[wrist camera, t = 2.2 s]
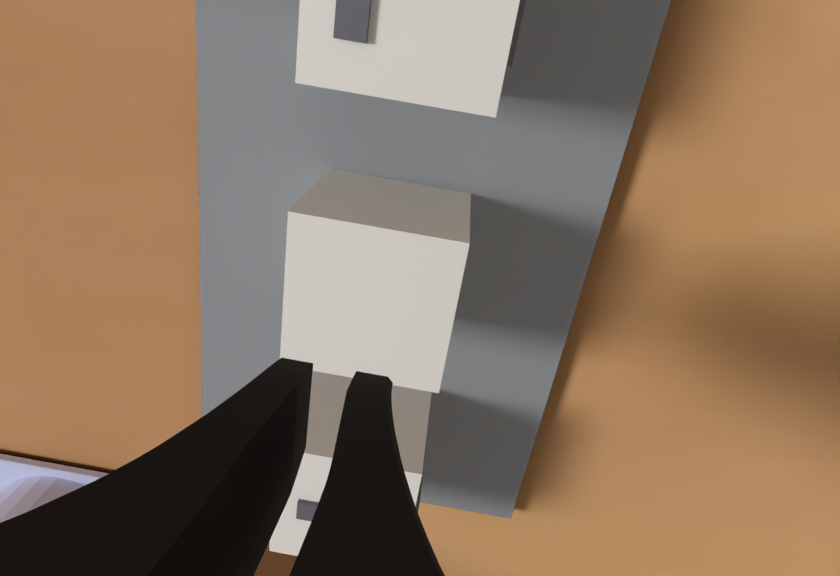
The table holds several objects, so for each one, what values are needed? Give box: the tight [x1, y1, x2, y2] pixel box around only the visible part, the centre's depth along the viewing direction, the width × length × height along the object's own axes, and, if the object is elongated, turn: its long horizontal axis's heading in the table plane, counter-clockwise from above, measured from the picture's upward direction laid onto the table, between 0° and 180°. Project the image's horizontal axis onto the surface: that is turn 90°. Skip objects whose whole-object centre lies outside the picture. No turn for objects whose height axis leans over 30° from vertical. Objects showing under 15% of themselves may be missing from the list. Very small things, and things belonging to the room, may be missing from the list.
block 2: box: [269, 371, 432, 556], centre depth 20 cm, size 4×5×5 cm
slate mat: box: [196, 0, 671, 519], centre depth 19 cm, size 22×13×1 cm, turn 171°
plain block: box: [280, 169, 471, 393], centre depth 17 cm, size 4×4×4 cm
